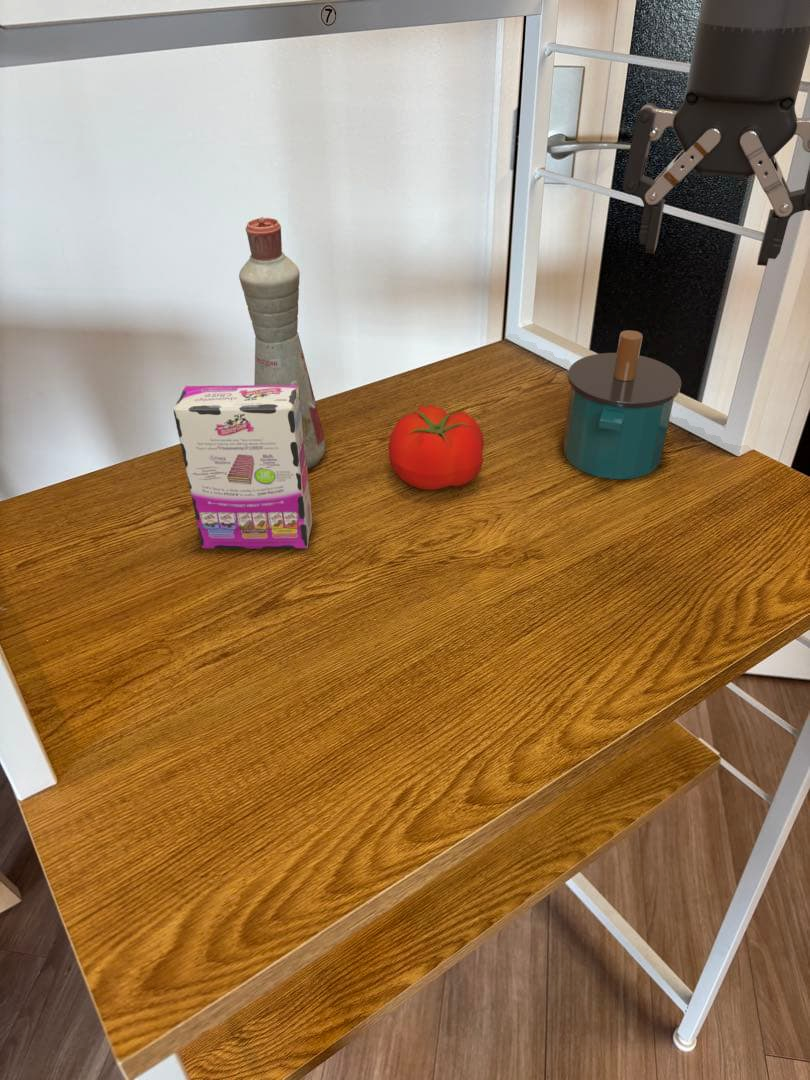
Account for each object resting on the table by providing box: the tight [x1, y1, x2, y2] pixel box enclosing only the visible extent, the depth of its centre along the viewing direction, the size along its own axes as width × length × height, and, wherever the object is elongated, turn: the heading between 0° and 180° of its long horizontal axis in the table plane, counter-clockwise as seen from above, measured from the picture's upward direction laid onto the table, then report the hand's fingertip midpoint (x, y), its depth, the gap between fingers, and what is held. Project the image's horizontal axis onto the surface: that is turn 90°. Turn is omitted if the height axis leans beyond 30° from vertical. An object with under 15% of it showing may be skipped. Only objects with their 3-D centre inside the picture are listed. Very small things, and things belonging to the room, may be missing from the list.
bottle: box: [238, 216, 326, 470], centre depth 90 cm, size 9×9×28 cm
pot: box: [562, 386, 675, 480], centre depth 96 cm, size 11×17×10 cm
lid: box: [567, 329, 682, 408], centre depth 92 cm, size 12×12×6 cm
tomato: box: [387, 405, 485, 491], centre depth 93 cm, size 11×11×8 cm
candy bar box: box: [173, 384, 314, 550], centre depth 82 cm, size 11×5×16 cm, turn 89°
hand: (705, 256), depth 66 cm, fingers open, 8 cm apart
